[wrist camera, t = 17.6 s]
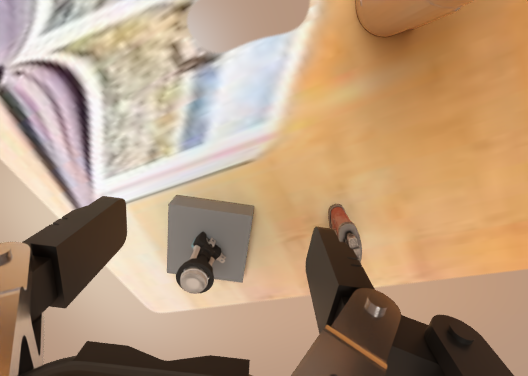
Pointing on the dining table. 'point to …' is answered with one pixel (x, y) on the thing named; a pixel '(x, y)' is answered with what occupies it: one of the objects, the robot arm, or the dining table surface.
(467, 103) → the dining table surface
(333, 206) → the lighter
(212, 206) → the slate stand
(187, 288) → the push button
